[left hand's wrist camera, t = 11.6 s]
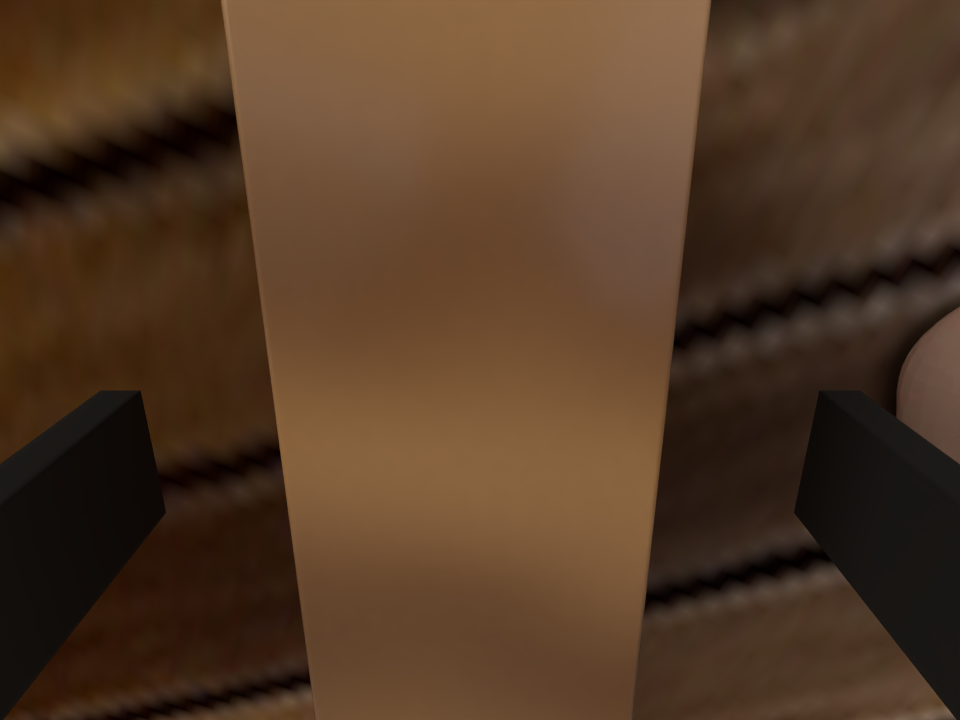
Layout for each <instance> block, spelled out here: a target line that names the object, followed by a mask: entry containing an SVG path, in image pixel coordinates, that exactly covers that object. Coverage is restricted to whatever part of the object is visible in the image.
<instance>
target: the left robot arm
mask: <svg viewBox="0 0 960 720" xmlns="http://www.w3.org/2000/svg"><path fill="white" fill-rule="evenodd" d="M165 513H166V511H165V506H164V501H163V496H162V491H161V487H160V482H159V477H158V472H157V467H156V463H155V458H154V453H153V448H152V443H151V439H150V434H149V429H148V424H147V419H146V415H145V410H144V405H143V400H142V395H141V391H99V392H98V393H97V394H95V395H94V396H93V397H91V398H90V399H89V400H87V401H86V402H84V403H83V404H82V405H80V406H79V407H78V408H76V409H75V410H74V411H72V412H71V413H69V414H68V415H67V416H65V417H64V418H63V419H61V420H60V421H59V422H57V423H56V424H54V425H53V426H52V427H50V428H49V429H48V430H46V431H45V432H44V433H42V434H41V435H39V436H38V437H37V438H35V439H34V440H33V441H31V442H30V443H29V444H27V445H26V446H24V447H23V448H22V449H20V450H19V451H18V452H16V453H15V454H13V455H12V456H11V457H9V458H8V459H7V460H5V461H4V462H3V463H1V464H0V720H3V719H4V718H5V717H6V715H7V714H8V713H9V712H10V710H11V709H12V708H13V707H14V705H15V704H16V703H17V701H18V700H19V699H20V698H21V696H22V695H23V694H24V693H25V691H26V690H27V689H28V687H29V686H30V685H31V684H32V682H33V681H34V680H35V679H36V677H37V676H38V675H39V673H40V672H41V671H42V670H43V668H44V667H45V666H46V665H47V663H48V662H49V661H50V659H51V658H52V657H53V656H54V654H55V653H56V652H57V651H58V649H59V648H60V647H61V645H62V644H63V643H64V642H65V640H66V639H67V638H68V637H69V635H70V634H71V633H72V631H73V630H74V629H75V628H76V626H77V625H78V624H79V623H80V621H81V620H82V619H83V617H84V616H85V615H86V614H87V612H88V611H89V610H90V609H91V607H92V606H93V605H94V603H95V602H96V601H97V600H98V598H99V597H100V596H101V595H102V593H103V592H104V591H105V589H106V588H107V587H108V586H109V584H110V583H111V582H112V581H113V579H114V578H115V577H116V575H117V574H118V573H119V572H120V570H121V569H122V568H123V567H124V565H125V564H126V563H127V561H128V560H129V559H130V558H131V556H132V555H133V554H134V553H135V551H136V550H137V549H138V547H139V546H140V545H141V544H142V542H143V541H144V540H145V539H146V537H147V536H148V535H149V533H150V532H151V531H152V530H153V528H154V527H155V526H156V524H157V523H158V522H159V521H160V519H161V518H162V517H163V516H164V514H165ZM794 513H795V514H796V516H797V517H798V518H799V519H800V521H801V522H802V523H803V524H804V526H805V527H806V528H807V530H808V531H809V532H810V533H811V535H812V536H813V537H814V538H815V540H816V541H817V542H818V544H819V545H820V546H821V547H822V549H823V550H824V551H825V552H826V554H827V555H828V556H829V558H830V559H831V560H832V561H833V563H834V564H835V565H836V567H837V568H838V569H839V570H840V572H841V573H842V574H843V575H844V577H845V578H846V579H847V581H848V582H849V583H850V584H851V586H852V587H853V588H854V589H855V591H856V592H857V593H858V595H859V596H860V597H861V598H862V600H863V601H864V602H865V603H866V605H867V606H868V607H869V609H870V610H871V611H872V612H873V614H874V615H875V616H876V617H877V619H878V620H879V621H880V623H881V624H882V625H883V626H884V628H885V629H886V630H887V631H888V633H889V634H890V635H891V637H892V638H893V639H894V640H895V642H896V643H897V644H898V645H899V647H900V648H901V649H902V651H903V652H904V653H905V654H906V656H907V657H908V658H909V659H910V661H911V662H912V663H913V665H914V666H915V667H916V668H917V670H918V671H919V672H920V673H921V675H922V676H923V677H924V679H925V680H926V681H927V682H928V684H929V685H930V686H931V687H932V689H933V690H934V691H935V693H936V694H937V695H938V696H939V698H940V699H941V700H942V701H943V703H944V704H945V705H946V707H947V708H948V709H949V710H950V712H951V713H952V714H953V715H954V717H955V718H956V719H957V720H960V464H959V463H957V462H956V461H955V460H953V459H952V458H951V457H949V456H948V455H947V454H945V453H944V452H942V451H941V450H940V449H938V448H937V447H936V446H934V445H933V444H932V443H930V442H929V441H927V440H926V439H925V438H923V437H922V436H921V435H919V434H918V433H916V432H915V431H914V430H912V429H911V428H910V427H908V426H907V425H906V424H904V423H903V422H901V421H900V420H899V419H897V418H896V417H895V416H893V415H892V414H891V413H889V412H888V411H886V410H885V409H884V408H882V407H881V406H880V405H878V404H877V403H876V402H874V401H873V400H871V399H870V398H869V397H867V396H866V395H865V394H863V393H862V392H861V391H819V395H818V400H817V405H816V410H815V415H814V419H813V424H812V429H811V434H810V439H809V443H808V448H807V453H806V458H805V463H804V467H803V472H802V477H801V482H800V487H799V491H798V496H797V501H796V506H795V511H794Z"/></svg>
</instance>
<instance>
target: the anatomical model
mask: <svg viewBox="0 0 960 720" xmlns="http://www.w3.org/2000/svg"><path fill="white" fill-rule="evenodd" d="M896 418H897V419H899V420H900V421H901V422H903V423H904V424H906V425H907V426H908V427H910V428H911V429H912V430H914V431H915V432H916V433H918V434H919V435H921V436H922V437H923V438H925V439H926V440H927V441H929V442H930V443H932V444H933V445H934V446H936V447H937V448H938V449H940V450H941V451H942V452H944V453H945V454H947V455H948V456H949V457H951V458H952V459H953V460H955V461H956V462H957V463H959V464H960V307H958V308H957V309H955V310H954V311H952V312H951V313H949V314H947V315H946V316H945V317H943V318H942V319H941V320H940V321H938V322H937V323H936V324H935V325H934V326H933V327H931V328H930V329H929V330H928V331H927V332H926V333H925V334H924V335H922V337H921V338H920V339H919V340H918V342H917V343H916V344H915V345H914V346H913V348H912V349H911V351H910V352H909V354H908V355H907V357H906V359H905V362H904V364H903V366H902V369H901V372H900V375H899V380H898V386H897V399H896Z"/></svg>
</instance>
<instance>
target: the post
mask: <svg viewBox="0 0 960 720" xmlns="http://www.w3.org/2000/svg"><path fill="white" fill-rule="evenodd" d="M221 5H222V12H223V20H224V27H225V35H226V43H227V50H228V58H229V65H230V73H231V81H232V88H233V96H234V103H235V111H236V119H237V126H238V134H239V141H240V149H241V157H242V164H243V172H244V179H245V187H246V194H247V202H248V210H249V217H250V225H251V232H252V240H253V248H254V255H255V263H256V270H257V278H258V286H259V293H260V301H261V308H262V316H263V324H264V331H265V339H266V346H267V354H268V362H269V369H270V377H271V384H272V392H273V399H274V407H275V415H276V422H277V430H278V437H279V445H280V453H281V460H282V468H283V475H284V483H285V491H286V498H287V506H288V513H289V521H290V529H291V536H292V544H293V551H294V559H295V566H296V574H297V582H298V589H299V597H300V604H301V612H302V620H303V627H304V635H305V642H306V650H307V658H308V665H309V673H310V680H311V688H312V696H313V703H314V711H315V718H316V720H632V717H633V708H634V699H635V690H636V681H637V672H638V663H639V654H640V644H641V635H642V626H643V617H644V608H645V599H646V590H647V581H648V571H649V562H650V553H651V544H652V535H653V526H654V517H655V508H656V498H657V489H658V480H659V471H660V462H661V453H662V444H663V434H664V425H665V416H666V407H667V398H668V389H669V380H670V371H671V361H672V352H673V343H674V334H675V325H676V316H677V307H678V298H679V288H680V279H681V270H682V261H683V252H684V243H685V234H686V225H687V215H688V206H689V197H690V188H691V179H692V170H693V161H694V152H695V142H696V133H697V124H698V115H699V106H700V97H701V88H702V79H703V69H704V60H705V51H706V42H707V33H708V24H709V15H710V6H711V0H221Z"/></svg>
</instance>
